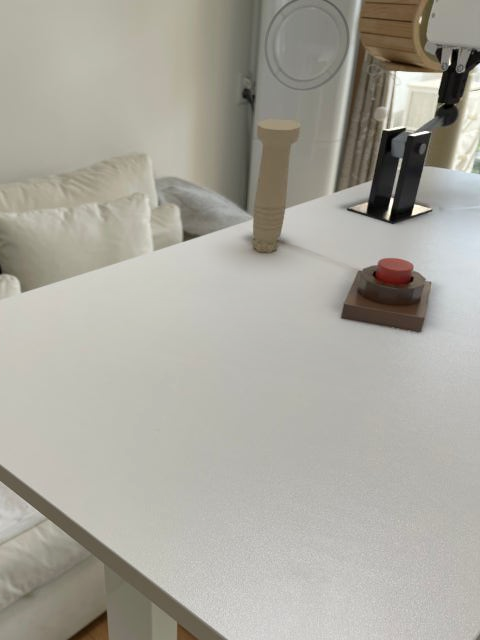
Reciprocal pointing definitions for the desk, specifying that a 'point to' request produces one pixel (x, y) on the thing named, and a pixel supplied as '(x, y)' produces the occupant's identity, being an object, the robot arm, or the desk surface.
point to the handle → (272, 181)
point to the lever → (426, 127)
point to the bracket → (407, 182)
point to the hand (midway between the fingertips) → (448, 102)
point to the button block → (387, 301)
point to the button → (394, 271)
